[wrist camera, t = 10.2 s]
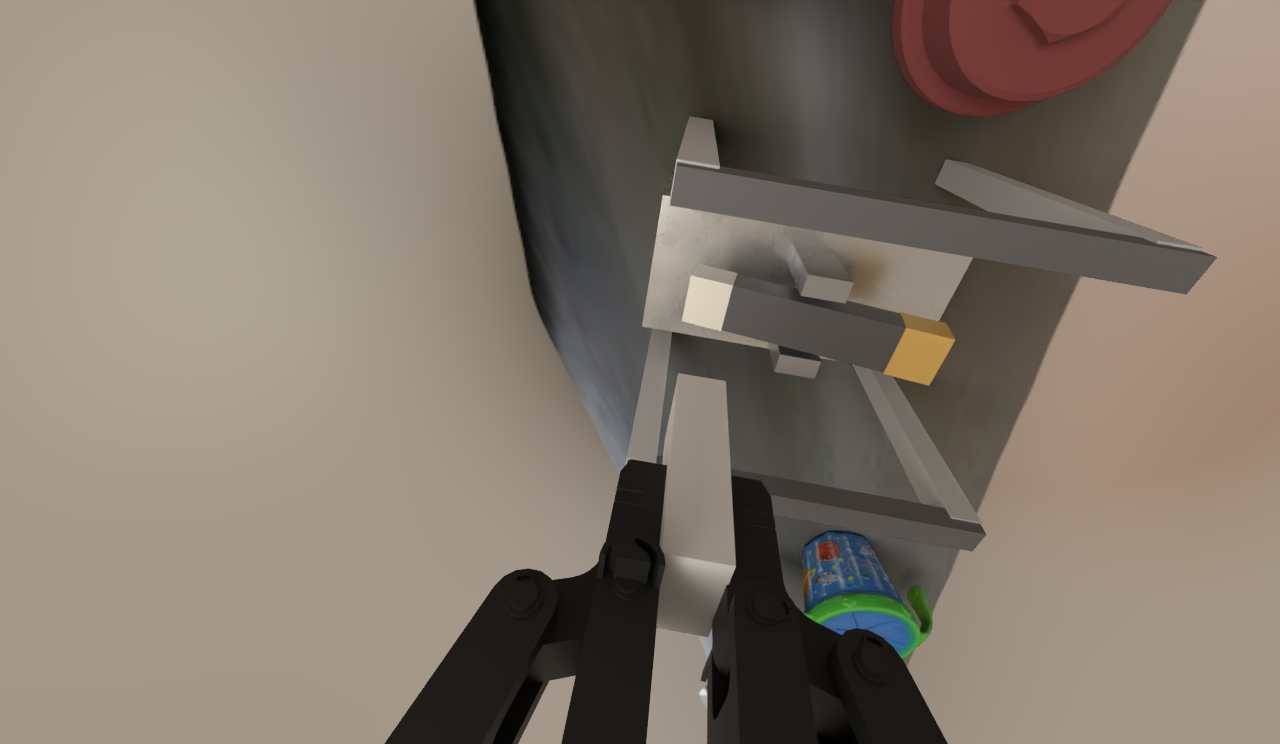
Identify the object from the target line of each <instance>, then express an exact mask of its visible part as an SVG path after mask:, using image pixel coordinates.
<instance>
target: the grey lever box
mask: <svg viewBox="0 0 1280 744" xmlns="http://www.w3.org/2000/svg"><path fill="white" fill-rule="evenodd" d="M673 178H674V174H671V173H670V175H669V178H668V181H667V184H666V187H665V190H664V193H663V198H662V204H661V210H660V217H659V223H658V229H657V235H656V242H655V248H654V254H653V261H652V267H651V273H650V280H649V286H648V292H647V299H646V305H645V311H644V318H643V324H642V326H643V327H649V328H654V329H660V330H666V331H671V332H677V333H683V334H688V335H694V336H700V337H705V338H711V339H717V340H722V341H728V342H733V343H739V344H745V345H750V346H756V347H762V348H767V349H769V352H770V356H771V361H772V365H773V369H774V372H778V373H784V374H789V375H795V376H801V377H806V378H812V379H815V376H816V374H817V372H818V369H819V367H820V364H821V359H820V358H824V359H829V360H833V359H830V358H826V357H822V356H818V355H814V354H810V353H807V352H803V351H799V350H795V349H791V348H787V347H784V346H780V345H776V344H772V343H768V342H764V341H761V340H757V339H753V338H749V337H745V336H742V335H738V334H734V333H730V332H726V331H722V330H721V331H718V330H714V329H710V328H706V327H703V326H699V325H695V324H691V323H687V322H683V321H682V316H683V312H684V307H685V302H686V297H687V292H688V288H689V283H690V278H691V275H692V273H693V271H694V270H695V268H696V266H697V265H698V264H701V265H705V266H710V267H714V268H718V269H722V270H726V271H730V272H735V273H738V275H742V276H747V277H751V278H755V279H759V280H763V281H767V282H772V283H776V284H780V285H784V286H788V287H793V288H797V289H798V290H799V293H800V295H801V296H805V297H811V298H817V299H822V300H828V301H834V302H839V303H846V301H851V302H855V303H859V304H864V305H868V306H872V307H876V308H880V309H884V310H889V311H893V312H897V313H900V312H902V313H906V314H910V315H915V316H919V317H923V318H927V319H931V320H936V321H939V320H940V318H941V316H942V314H943V312H944V311H945V309H946V307H947V305H948V303H949V301H950V300H951V298H952V296H953V294H954V292H955V290H956V288H957V287H958V285H959V283H960V281H961V279H962V277H963V276H964V274H965V272H966V270H967V268H968V266H969V264H970V263H971V261H972V259H973V258H972V257H967V256H961V255H955V254H949V253H943V252H937V251H932V250H926V249H920V248H914V247H908V246H903V245H897V244H891V243H885V242H879V241H873V240H868V239H862V238H856V237H850V236H844V235H838V234H833V233H827V232H821V231H815V230H809V229H804V228H798V227H792V226H786V225H780V224H774V223H769V222H763V221H757V220H751V219H745V218H740V217H734V216H728V215H722V214H716V213H710V212H705V211H699V210H693V209H687V208H681V207H675V206H670V204H669V202H670V196H671V190H672V184H673ZM835 361H837V360H835Z"/></svg>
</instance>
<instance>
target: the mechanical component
mask: <svg viewBox="0 0 1280 744" xmlns="http://www.w3.org/2000/svg"><path fill="white" fill-rule="evenodd" d="M1171 1H1172V0H895V4H894V8H893V14H892V23H891V24H892V38H893V43H894V49H895V58H896V60H897V61H898V65H899V67H900V69H901V72H902V74H903V76H904V78H905V80H906V81H907V83H908V84H909V86H910V87H911V89H912V90H913V91H914V92H915V93H916V94H917V95H918V96H919V97H920V98H922V99H923V100H924V101H926V102H927V103H929V104H930V105H932V106H934V107H936V108H939V109H941V110H943V111H947V112H951V113H956V114H961V115H968V116H994V115H1000V114H1006V113H1010V112H1013V111H1016V110H1020V109H1023V108H1025V107H1028V106H1030V105H1032V104H1034V103H1037V102H1039V101H1041V100H1043V99H1046V98H1050V97H1054V96H1057V95H1060V94H1063V93H1065V92H1068V91H1070V90H1073V89H1075V88H1078V87H1080V86H1081V85H1083V84H1085V83H1087V82H1089V81H1091V80H1092V79H1094V78H1096V77H1097V76H1099V75H1100V74H1102V73H1103V72H1105V71H1106V70H1107V69H1109V68H1110V67H1112V66H1113V65H1114V64H1116V63H1117V62H1118V61H1119V60H1120V59H1122V58H1123V57H1124V56H1125V55H1126V54H1127V53H1129V52H1130V51H1131V50H1132V49H1133V48H1134V47H1135V46H1136V45H1137V44H1138V43H1139V42H1140V41H1141V40H1142V39H1143V37H1144V36H1145V35H1146V34H1147V33H1148V32H1149V31H1150V30H1151V28H1152V27H1153V26H1154V25H1155V23H1156V22H1157V21H1158V20H1159V18H1160V17H1161V16H1162V14H1163V13H1164V11H1165V10H1166V8H1167V7H1168V5H1169V4H1170V2H1171Z"/></svg>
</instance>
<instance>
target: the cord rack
mask: <svg viewBox="0 0 1280 744" xmlns="http://www.w3.org/2000/svg"><path fill="white" fill-rule="evenodd" d="M935 185H937V186H939V187H941V188H943V189H945V190H947V191H949V192H951V193H953V194H955V195H957V196H959V197H961V198H963V199H965V200H967V201H969V202H971V203H973V204H975V205H977V206H979V207H981V208H983V209H985V210H986V211H982V210H976V209H970V208H964V207H958V206H952V205H947V204H941V203H935V202H929V201H923V200H917V199H911V198H905V197H899V196H893V195H888V194H882V193H876V192H870V191H864V190H858V189H852V188H846V187H840V186H835V185H829V184H823V183H817V182H811V181H805V180H799V179H793V178H787V177H782V176H776V175H770V174H764V173H758V172H752V171H746V170H740V169H734V168H728V167H723V166H720V164H719V157H718V151H717V144H716V138H715V131H714V125H713V120H708V119H702V118H697V117H691V116H690V117H689V120H688V123H687V127H686V130H685V133H684V137H683V140H682V143H681V146H680V150H679V153H678V156H677V160H676V166H675V172H674V178H673V184H672V190H671V196H670V202H669V204H670V206H675V207H681V208H687V209H693V210H699V211H705V212H710V213H716V214H722V215H728V216H734V217H740V218H745V219H751V220H757V221H763V222H769V223H774V224H780V225H786V226H792V227H798V228H804V229H809V230H815V231H821V232H827V233H833V234H838V235H844V236H850V237H856V238H862V239H868V240H873V241H879V242H885V243H891V244H897V245H903V246H908V247H914V248H920V249H926V250H932V251H937V252H943V253H949V254H955V255H961V256H967V257H972V258H978V259H984V260H990V261H996V262H1001V263H1007V264H1013V265H1019V266H1025V267H1031V268H1036V269H1042V270H1048V271H1054V272H1060V273H1066V274H1071V275H1077V276H1083V277H1089V278H1095V279H1100V280H1106V281H1112V282H1118V283H1124V284H1130V285H1136V286H1141V287H1147V288H1153V289H1159V290H1165V291H1170V292H1176V293H1182V294H1187V293H1188V291H1190V289H1191V288H1192V287H1193V286H1194V285H1195V283H1196V282H1197V281H1198V280H1199V278H1200V277H1201V276H1202V275H1203V274H1204V273H1205V271H1206V270H1207V269H1208V268H1209V267H1210V265H1211V264H1212V263H1213V262H1214V261H1215V259H1216V258H1217V257H1215V256H1213V255H1210V254H1207V253H1204V252H1202V249H1203V248H1201V247H1198V246H1196V245H1193V244H1190V243H1187V242H1185V241H1182V240H1179V239H1176V238H1174V237H1171V236H1168V235H1165V234H1163V233H1160V232H1157V231H1154V230H1152V229H1149V228H1146V227H1143V226H1141V225H1138V224H1135V223H1132V222H1129V221H1127V220H1124V219H1121V218H1119V217H1116V216H1113V215H1110V214H1108V213H1105V212H1102V211H1099V210H1097V209H1094V208H1091V207H1088V206H1086V205H1083V204H1080V203H1077V202H1075V201H1072V200H1069V199H1066V198H1064V197H1061V196H1058V195H1055V194H1053V193H1050V192H1047V191H1044V190H1042V189H1039V188H1036V187H1033V186H1031V185H1028V184H1025V183H1022V182H1020V181H1017V180H1014V179H1011V178H1009V177H1006V176H1003V175H1000V174H998V173H995V172H992V171H989V170H987V169H984V168H981V167H978V166H976V165H973V164H970V163H965V162H959V161H953V160H947V159H946V160H945V162H944V164H943V166H942V169H941V171H940V173H939V175H938V177H937V180H936V182H935ZM671 337H672V332H671V331H666V330H660V329H654V328H653V329H652V334H651V339H650V344H649V349H648V354H647V359H646V364H645V369H644V374H643V379H642V384H641V389H640V394H639V399H638V404H637V409H636V414H635V419H634V424H633V429H632V434H631V439H630V444H629V449H628V454H627V459H626V464H627V463H628V462H629V461H630V460H631V459H635V460H640V461H646V462H652V463H657V464H662V462H663V457H662V456H657V452H658V444H659V435H660V427H661V419H662V411H663V403H664V395H665V386H666V378H667V370H668V362H669V354H670V346H671ZM853 367H854V369H855V372H856V374H857V376H858V378H859V380H860V382H861V384H862V386H863V388H864V390H865V392H866V394H867V396H868V398H869V400H870V402H871V404H872V406H873V408H874V410H875V412H876V414H877V416H878V418H879V420H880V422H881V424H882V426H883V428H884V430H885V432H886V434H887V436H888V438H889V440H890V442H891V444H892V446H893V448H894V450H895V452H896V454H897V456H898V458H899V460H900V462H901V464H902V466H903V468H904V470H905V472H906V474H907V476H908V478H909V480H910V482H911V485H912V487H913V489H914V491H915V493H916V495H917V497H918V499H919V501H920V503H921V504H920V503H914V502H909V501H903V500H898V499H892V498H887V497H881V496H876V495H870V494H865V493H859V492H854V491H848V490H843V489H838V488H832V487H827V486H821V485H816V484H810V483H805V482H799V481H794V480H788V479H783V478H777V477H772V476H766V475H761V474H755V473H750V472H745V471H739V470H734V469H731V475H732V476H738V477H743V478H749V479H755V480H760V481H762V483H763V484H764V486H765V488H766V489H767V491H768V493H769V494H770V496H771V500H772V507H773V515H778V516H784V517H789V518H794V519H800V520H805V521H811V522H816V523H822V524H827V525H832V526H838V527H843V528H849V529H854V530H860V531H865V532H870V533H876V534H881V535H887V536H892V537H898V538H903V539H908V540H914V541H919V542H925V543H930V544H935V545H941V546H946V547H952V548H957V549H963V550H968V551H973V550H974V549H975V548H976V546H977V545H978V544H979V543H980V541H981V540H982V539H983V538H984V537H985V535H986V533H985V532H984V530H983V528H982V526H981V525H980V524H981V523H982V522H981V521H980V519H979V518H978V516H977V514H976V512H975V511H974V509H973V507H972V506H971V504H970V502H969V501H968V499H967V498H966V496H965V494H964V493H963V491H962V489H961V488H960V486H959V484H958V483H957V481H956V479H955V478H954V476H953V475H952V473H951V471H950V470H949V468H948V466H947V465H946V463H945V461H944V460H943V458H942V456H941V455H940V453H939V452H938V450H937V448H936V447H935V445H934V443H933V442H932V440H931V438H930V437H929V435H928V433H927V432H926V430H925V428H924V427H923V425H922V424H921V422H920V420H919V419H918V417H917V415H916V414H915V412H914V410H913V409H912V407H911V405H910V404H909V402H908V401H907V399H906V397H905V396H904V394H903V392H902V391H901V389H900V387H899V386H898V384H897V382H896V381H895V379H894V378H893V376H890V375H886V374H883V372H879V371H875V370H872V369H868V368H864V367H860V366H856V365H853Z"/></svg>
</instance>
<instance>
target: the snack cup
mask: <svg viewBox="0 0 1280 744" xmlns="http://www.w3.org/2000/svg"><path fill="white" fill-rule="evenodd" d="M802 562H803V587H804V606H805V611H804V612H802V613H803V614H804V615H806V616H807V617H809V618H810V619H812V620H814V621H815V622H817V623H819V624H821V625H823V626H825V627H827V628H829V629H831V630H833V631H835V632H837V633H839V634H841V635H843V633H844V632H845V631H848V630H851V629H854V628H859V629H866V630H869V631H871V632H873V633H875V634H877V635H879V636H881V637H883V638H884V639H885V640H886V641H887V642H888V643H890V644H891V645H892V646H893V647H894V648H895V650H896V651H897V652H898V654H899V655H900V657H901V658H904V657H906V656H907V655H909V654H910V653H911V652H913V651H914V650H915V648H916V647H918V646H920V644H922V642H924V640H925V639H926V638H927V637H928V635H929V634H930V632H931V630H932V615H931V610H930V606H929V603H928V600H927V597H926V594H925V593H924V592H923V590H922V589H921V587H919V586H917V585H914V586H912V587H911V589H910V590H909V592H908V595H907V599H908V600H909V602H910V603H911V606H912V607H913V609H914V611H915V612H916V614H917V616H918V617H919V619H920V621H921V628H920V629H919V626H918V623H917V621H916V619H915V617H914V615H913V614H912V612H911V611H910V609H909V608H908V607H907V606H905V605H904V604H903V602H902V600H901V598H900V596H899V594H898V592H897V590H896V589H895V587H894V586H893V584H892V582H891V580H890V578H889V576H888V574H887V572H886V571H885V569H884V567H883V565H882V563H881V562H880V560H879V559H878V557H877V555H876V553H875V552H874V550H873V548H872V547H871V546H870V545H869V543H868V542H867V541H866V539H865V538H863V537H862V536H857V535H854V534H852V533H835V532H827V533H826V534H825V535H822V536H819V537H818V538H816V539H814V540H813V541H812V542H811V543H809V544H808V545H807V546H805V548H804V551H803V560H802ZM781 569H782V564H781Z"/></svg>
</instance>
